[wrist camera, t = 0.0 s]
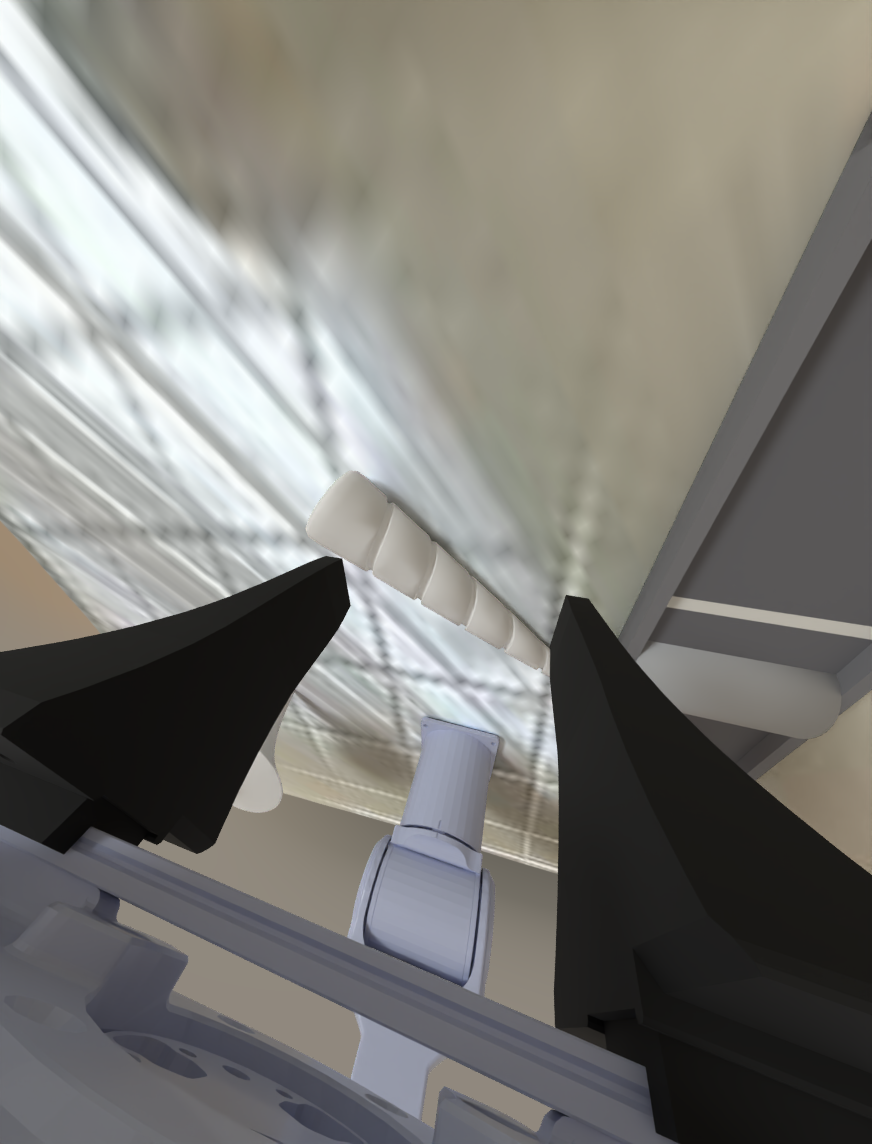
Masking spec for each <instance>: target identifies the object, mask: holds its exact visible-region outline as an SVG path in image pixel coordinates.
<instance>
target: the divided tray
mask: <svg viewBox="0 0 872 1144" xmlns="http://www.w3.org/2000/svg"><path fill="white" fill-rule="evenodd" d="M618 640H619V641H620V643H621V644H622V645H623V646H624V648H625V649H626V650H627V651H628V653H629V654H630V655H631V657H632V658H633V659H634V660H635V661H636V663H637V664H638V665H639V666H640V667H641V669H642V670H643V671H644V672H645V673H646V674H647V675H648V677H649V678H650V679H651V680H652V681H653V682H654V683H655V685H656V686H657V687H658V688H659V689H660V690H661V691H662V692H663V693H664V695H665V696H666V697H667V698H668V699H669V700H670V701H671V702H672V703H673V704H674V705H675V706H676V707H677V708H678V709H679V710H680V711H681V712H682V713H683V714H684V715H685V716H686V717H687V718H688V719H689V720H690V721H691V722H692V723H693V724H694V725H695V726H696V727H697V728H698V729H699V730H700V731H701V732H702V733H703V734H704V735H705V736H706V737H707V738H708V739H709V740H710V741H711V742H713V743H714V744H715V745H716V746H717V747H718V748H719V749H720V750H721V751H722V752H723V753H725V754H726V755H727V756H728V757H729V758H730V759H731V760H732V761H733V762H735V763H736V764H737V765H738V766H739V767H740V768H741V769H742V770H744V771H745V772H746V773H747V774H748V775H749V776H750V777H751V778H753V779H754V780H756V779H758V778H759V777H760V776H762V775H763V774H764V773H765V772H767V771H768V770H769V769H771V768H772V767H773V766H774V765H776V764H777V763H778V762H780V761H781V760H782V759H783V758H785V757H786V756H787V755H789V754H790V753H791V752H792V751H794V750H795V749H796V748H798V747H799V746H800V745H801V744H803V743H804V742H805V741H807V740H808V739H811V738H816V737H818V736H821V735H822V734H824V733H826V732H827V731H828V730H829V729H830V728H831V727H832V726H833V724H834V723H835V721H836V719H837V718H838V716H839V715H840V714H841V713H843V712H844V711H845V710H846V709H848V708H849V707H850V706H852V705H853V704H854V703H855V702H857V701H858V700H859V699H861V698H862V697H863V696H864V695H866V694H867V693H868V692H870V691H871V690H872V112H871V114H870V116H869V118H868V120H867V122H866V124H865V126H864V129H863V131H862V133H861V135H860V137H859V139H858V141H857V143H856V145H855V147H854V149H853V151H852V154H851V156H850V158H849V160H848V162H847V164H846V166H845V168H844V170H843V172H842V174H841V176H840V178H839V181H838V183H837V185H836V187H835V189H834V191H833V193H832V195H831V197H830V199H829V201H828V203H827V206H826V208H825V210H824V212H823V214H822V216H821V218H820V220H819V222H818V224H817V226H816V228H815V230H814V233H813V235H812V237H811V239H810V241H809V243H808V245H807V247H806V249H805V251H804V253H803V255H802V257H801V260H800V262H799V264H798V266H797V268H796V270H795V272H794V274H793V276H792V278H791V280H790V282H789V285H788V287H787V289H786V291H785V293H784V295H783V297H782V299H781V301H780V303H779V305H778V307H777V309H776V312H775V314H774V316H773V318H772V320H771V322H770V324H769V326H768V328H767V330H766V332H765V334H764V337H763V339H762V341H761V343H760V345H759V347H758V349H757V351H756V353H755V355H754V357H753V359H752V361H751V364H750V366H749V368H748V370H747V372H746V374H745V376H744V378H743V380H742V382H741V384H740V386H739V389H738V391H737V393H736V395H735V397H734V399H733V401H732V403H731V405H730V407H729V409H728V411H727V413H726V416H725V418H724V420H723V422H722V424H721V426H720V428H719V430H718V432H717V434H716V436H715V438H714V441H713V443H712V445H711V447H710V449H709V451H708V453H707V455H706V457H705V459H704V461H703V463H702V465H701V468H700V470H699V472H698V474H697V476H696V478H695V480H694V482H693V484H692V486H691V488H690V490H689V492H688V495H687V497H686V499H685V501H684V503H683V505H682V507H681V509H680V511H679V513H678V515H677V517H676V520H675V522H674V524H673V526H672V528H671V530H670V532H669V534H668V536H667V538H666V540H665V542H664V544H663V547H662V549H661V551H660V553H659V555H658V557H657V559H656V561H655V563H654V565H653V567H652V569H651V572H650V574H649V576H648V578H647V580H646V582H645V584H644V586H643V588H642V590H641V592H640V594H639V596H638V599H637V601H636V603H635V605H634V607H633V609H632V611H631V613H630V615H629V617H628V619H627V621H626V624H625V626H624V628H623V630H622V632H621V634H620V636H619V638H618Z"/></svg>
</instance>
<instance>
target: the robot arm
mask: <svg viewBox="0 0 872 1144" xmlns="http://www.w3.org/2000/svg"><path fill="white" fill-rule="evenodd" d="M350 606H351V605H350V600H349V594H348V589H347V583H346V577H345V572H344V566H343V561H342V559H341V558H335V557H329V556H325V557H322V558H319V559H316V560H314V561H312V562H309V563H307V564H304V565H302V566H300V567H298V568H295V569H293V570H291V571H289V572H286V573H284V574H282V575H280V576H277V577H275V578H273V579H271V580H268V581H266V582H264V583H261V584H259V585H257V586H254V587H252V588H249V589H247V590H244V591H242V592H239V593H237V594H235V595H232V596H230V597H227V598H224V599H222V600H219V601H216V602H213V603H211V604H208V605H205V606H202V607H199V608H196V609H193V610H190V611H186V612H183V613H180V614H177V615H173V616H169V617H166V618H162V619H158V620H155V621H151V622H148V623H144V624H140V625H137V626H133V627H129V628H124V629H120V630H116V631H111V632H107V633H102V634H98V635H93V636H88V637H84V638H79V639H74V640H69V641H63V642H57V643H52V644H46V645H40V646H34V647H28V648H23V649H17V650H11V651H4V652H0V1144H872V875H871V874H870V873H869V872H867V871H866V870H865V869H863V868H862V867H861V866H859V865H858V864H857V863H855V862H854V861H853V860H851V859H850V858H849V857H848V856H846V855H845V854H844V853H842V852H841V851H840V850H839V849H837V848H836V847H835V846H834V845H832V844H831V843H830V842H829V841H827V840H826V839H825V838H824V837H822V836H821V835H820V834H819V833H818V832H816V831H815V830H814V829H813V828H811V827H810V826H809V825H808V824H806V823H805V822H804V821H803V820H801V819H800V818H799V817H798V816H797V815H795V814H794V813H793V812H792V811H790V810H789V809H788V808H787V807H785V806H784V805H783V804H782V803H781V802H780V801H778V800H777V799H776V798H775V797H774V796H772V795H771V794H770V793H769V792H768V791H767V790H765V789H764V788H763V787H762V786H761V785H759V784H758V783H757V782H756V781H755V780H754V779H753V778H751V777H750V776H749V775H748V774H747V773H746V772H745V771H744V770H742V769H741V768H740V767H739V766H738V765H737V764H736V763H735V762H733V761H732V760H731V759H730V758H729V757H728V756H727V755H726V754H725V753H723V752H722V751H721V750H720V749H719V748H718V747H717V746H716V745H715V744H714V743H713V742H711V741H710V740H709V739H708V738H707V737H706V736H705V735H704V734H703V733H702V732H701V731H700V730H699V729H698V728H697V727H696V726H695V725H694V724H693V723H692V722H691V721H690V720H689V719H688V718H687V717H686V716H685V715H684V714H683V713H682V712H681V711H680V710H679V709H678V708H677V707H676V706H675V705H674V704H673V703H672V702H671V701H670V700H669V699H668V698H667V697H666V696H665V695H664V693H663V692H662V691H661V690H660V689H659V688H658V687H657V686H656V685H655V683H654V682H653V681H652V680H651V679H650V678H649V677H648V675H647V674H646V673H645V672H644V671H643V670H642V669H641V667H640V666H639V665H638V664H637V663H636V661H635V660H634V659H633V658H632V657H631V655H630V654H629V653H628V651H627V650H626V649H625V648H624V646H623V645H622V644H621V643H620V641H619V640H618V639H617V637H616V636H615V635H614V633H613V632H612V631H611V629H610V628H609V626H608V625H607V624H606V622H605V621H604V620H603V618H602V617H601V615H600V614H599V613H598V611H597V610H596V609H595V607H594V606H593V604H592V603H591V602H590V600H589V599H587V598H581V597H575V596H569V595H566V597H565V600H564V603H563V606H562V609H561V612H560V616H559V619H558V622H557V625H556V628H555V632H554V635H553V638H552V641H551V644H550V684H551V694H552V704H553V713H554V723H555V732H556V742H557V752H558V770H559V851H558V900H557V901H558V902H557V929H556V930H557V931H556V958H555V981H554V1008H555V1027H556V1028H554V1027H552V1026H550V1025H547V1024H545V1023H543V1022H541V1021H538V1020H536V1019H534V1018H531V1017H529V1016H527V1015H525V1014H522V1013H520V1012H518V1011H515V1010H513V1009H511V1008H508V1007H506V1006H504V1005H501V1004H499V1003H497V1002H494V1001H492V1000H490V999H488V998H485V997H484V993H485V984H486V980H487V976H488V970H489V963H490V955H491V946H492V936H493V924H494V909H495V883H494V881H493V879H492V877H491V876H490V871H489V870H488V869H485V868H482V870H481V867H482V858H483V855H482V854H481V844H482V836H483V827H484V818H485V809H486V800H487V791H488V783H489V782H490V778H491V774H492V770H493V766H494V762H495V758H496V754H497V749H498V745H499V740H500V739H499V737H498V736H496V735H493V734H489V733H485V732H481V731H478V730H474V729H470V728H466V727H462V726H458V725H455V724H451V723H447V722H443V721H439V720H435V719H432V718H428V717H423V718H422V721H421V734H422V752H421V755H420V758H419V762H418V765H417V769H416V772H415V775H414V779H413V782H412V786H411V789H410V792H409V796H408V799H407V803H406V806H405V810H404V813H403V816H402V820H401V823H400V826H399V825H395V828H394V832H393V835H392V836H391V835H385V836H384V837H383V838H382V839H381V840H379V841H378V842H377V843H376V845H375V847H374V849H373V851H372V853H371V855H370V857H369V860H368V862H367V865H366V868H365V871H364V873H363V877H362V880H361V883H360V886H359V890H358V894H357V898H356V902H355V906H354V910H353V916H352V922H351V926H350V929H349V932H348V936H347V937H345V936H342V935H340V934H338V933H336V932H333V931H331V930H328V929H326V928H324V927H322V926H319V925H317V924H315V923H312V922H310V921H308V920H305V919H303V918H301V917H299V916H296V915H294V914H291V913H289V912H287V911H285V910H283V909H280V908H278V907H276V906H273V905H271V904H269V903H266V902H264V901H262V900H259V899H257V898H255V897H253V896H250V895H248V894H246V893H243V892H241V891H239V890H236V889H234V888H232V887H230V886H227V885H225V884H223V883H220V882H218V881H216V880H213V879H211V878H209V877H207V876H204V875H202V874H200V873H197V872H195V871H192V870H190V869H188V868H186V867H183V866H181V865H179V864H176V863H174V862H172V861H170V860H167V859H165V858H162V857H160V856H158V855H156V854H154V853H151V852H149V851H146V850H144V849H142V848H139V847H137V846H138V845H139V844H140V842H141V841H142V840H143V839H144V840H147V841H149V842H151V843H154V844H156V845H157V844H159V843H161V842H162V840H165V841H167V842H170V843H172V844H175V845H177V846H179V847H182V848H184V849H186V850H189V851H191V852H194V853H196V854H198V853H201V852H203V851H205V850H207V849H208V848H210V847H211V846H213V845H214V844H215V843H216V840H217V838H218V836H219V833H220V831H221V829H222V827H223V824H224V822H225V820H226V818H227V816H228V814H229V811H230V809H231V807H232V805H233V803H234V801H235V799H236V796H237V794H238V792H239V790H240V788H241V786H242V784H243V782H244V780H245V778H246V776H247V774H248V772H249V770H250V768H251V766H252V764H253V762H254V760H255V758H256V756H257V754H258V752H259V751H260V749H261V747H262V745H263V743H264V742H265V740H266V738H267V736H268V734H269V732H270V731H271V729H272V727H273V725H274V723H275V722H276V720H277V718H278V716H279V715H280V713H281V711H282V710H283V708H284V706H285V705H286V703H287V701H288V699H289V698H290V696H291V694H292V693H293V691H294V690H295V688H296V687H297V686H298V684H299V683H300V681H301V680H302V678H303V677H304V676H305V674H306V673H307V672H308V670H309V669H310V668H311V666H312V665H313V663H314V662H315V661H316V659H317V658H318V657H319V655H320V654H321V652H322V651H323V650H324V648H325V647H326V646H327V644H328V643H329V641H330V640H331V639H332V637H333V636H334V634H335V633H336V631H337V630H338V628H339V627H340V625H341V623H342V621H343V619H344V617H345V615H346V613H347V611H348V609H349V607H350ZM119 898H120V899H122V900H124V901H126V902H128V903H130V904H132V905H134V906H136V907H138V908H140V909H142V910H144V911H146V912H149V913H151V914H153V915H155V916H157V917H159V918H161V919H163V920H165V921H167V922H169V923H171V924H174V925H175V926H177V927H179V928H182V929H184V930H186V931H188V932H190V933H192V934H194V935H196V936H198V937H200V938H202V939H204V940H206V941H208V942H210V943H212V944H215V945H217V946H219V947H221V948H223V949H225V950H227V951H229V952H231V953H233V954H235V955H237V956H239V957H242V958H243V959H245V960H247V961H250V962H252V963H254V964H256V965H258V966H260V967H262V968H264V969H266V970H269V971H270V972H272V973H275V974H277V975H279V976H280V977H283V978H285V979H287V980H289V981H291V982H293V983H295V984H297V985H299V986H301V987H303V988H305V989H308V990H309V991H312V992H313V993H316V994H318V995H320V996H322V997H324V998H326V999H328V1000H330V1001H332V1002H334V1003H336V1004H338V1005H340V1006H342V1007H345V1008H346V1009H349V1010H351V1011H353V1012H354V1014H355V1017H356V1020H357V1023H358V1026H359V1030H360V1034H361V1040H360V1044H359V1047H358V1051H357V1055H356V1059H355V1063H354V1067H353V1071H352V1075H351V1079H349V1078H348V1077H346V1076H344V1075H342V1074H340V1073H339V1072H336V1071H335V1070H333V1069H331V1068H330V1067H328V1066H326V1065H324V1064H322V1063H320V1062H318V1061H317V1060H315V1059H313V1058H311V1057H309V1056H307V1055H305V1054H303V1053H301V1052H299V1051H297V1050H295V1049H294V1048H292V1047H290V1046H288V1045H286V1044H284V1043H282V1042H280V1041H278V1040H276V1039H273V1038H271V1037H269V1036H267V1035H265V1034H263V1033H261V1032H259V1031H257V1030H255V1029H253V1028H251V1027H249V1026H247V1025H245V1024H242V1023H240V1022H238V1021H236V1020H234V1019H232V1018H230V1017H228V1016H225V1015H224V1014H221V1013H219V1012H217V1011H215V1010H213V1009H211V1008H209V1007H207V1006H205V1005H202V1004H200V1003H198V1002H196V1001H194V1000H192V999H190V998H188V997H186V996H184V995H182V994H179V993H177V992H175V991H173V990H172V989H173V988H174V986H175V984H176V982H177V981H178V979H179V977H180V976H181V974H182V972H183V970H184V969H185V967H186V965H187V963H188V956H187V955H186V954H184V953H182V952H181V951H179V950H178V949H176V948H175V947H173V946H171V945H169V944H168V943H166V942H164V941H162V940H160V939H157V938H155V937H153V936H151V935H148V934H146V933H143V932H141V931H139V930H136V929H134V928H131V927H129V926H126V925H124V924H121V923H119V922H117V919H116V916H117V912H118V910H119V906H120V900H119ZM372 948H374V949H372ZM375 949H376V950H375ZM377 950H378V951H377ZM379 951H380V952H379ZM382 952H383V953H382ZM384 953H385V954H384ZM386 954H387V955H386ZM389 955H390V956H389ZM391 956H392V957H391ZM393 957H394V958H393ZM395 958H397V959H395ZM398 959H399V960H398ZM400 960H401V961H400ZM402 961H404V962H402ZM405 962H406V963H405ZM407 963H408V964H407ZM409 964H410V965H409ZM412 965H413V966H412ZM414 966H415V967H414ZM416 967H417V968H416ZM419 968H420V969H419ZM421 969H422V970H421ZM423 970H424V971H423ZM425 971H427V972H425ZM428 972H429V973H428ZM430 973H431V974H430ZM432 974H433V975H432ZM435 975H436V976H435ZM437 976H438V977H437ZM439 977H440V978H439ZM442 978H443V979H442ZM444 979H445V980H444ZM446 980H448V981H450V982H448V981H446ZM451 982H452V983H451ZM453 983H454V984H453ZM455 984H457V985H455ZM458 985H459V986H458ZM460 986H461V987H460ZM447 1058H449V1059H452V1060H454V1061H456V1062H458V1063H460V1064H462V1065H464V1066H466V1067H468V1068H470V1069H472V1070H474V1071H476V1072H478V1073H480V1074H482V1075H485V1076H487V1077H489V1078H491V1079H493V1080H495V1081H497V1082H499V1083H501V1084H503V1085H505V1086H507V1087H510V1088H511V1089H514V1090H515V1091H518V1092H520V1093H522V1094H524V1095H526V1096H528V1097H530V1098H532V1099H534V1100H536V1101H538V1102H540V1103H542V1104H544V1105H546V1106H548V1107H551V1108H553V1109H555V1110H550V1111H549V1112H548V1113H547V1114H546V1115H545V1116H544V1118H543V1120H542V1124H541V1127H540V1129H539V1131H537V1132H534V1131H533V1130H531V1129H530V1128H528V1127H527V1126H525V1125H523V1124H522V1123H520V1122H519V1121H517V1120H515V1119H513V1118H512V1117H510V1116H508V1115H506V1114H504V1113H502V1112H500V1111H498V1110H496V1109H494V1108H492V1107H490V1106H488V1105H485V1104H483V1103H481V1102H479V1101H477V1100H474V1099H472V1098H470V1097H468V1096H465V1095H463V1094H461V1093H459V1092H456V1091H454V1090H452V1089H450V1088H447V1087H443V1089H442V1090H441V1091H440V1092H439V1099H438V1107H437V1114H436V1121H435V1129H433V1128H432V1127H430V1126H429V1125H427V1124H425V1123H424V1122H422V1121H421V1120H422V1112H423V1106H424V1099H425V1093H426V1087H427V1080H428V1075H429V1073H430V1072H431V1071H432V1070H433V1069H434V1068H435V1067H436V1066H437V1065H439V1064H440V1063H441V1062H443V1061H444V1060H445V1059H447Z"/></svg>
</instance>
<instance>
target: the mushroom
mask: <svg viewBox="0 0 872 1144" xmlns="http://www.w3.org/2000/svg"><path fill="white" fill-rule="evenodd" d="M294 692H295V691H293V693H292V694H291V696H290V698H289V699H288V701H287V703H286V705H285V706H284V708H283V710H282V711H281V713H280V715H279V716H278V718H277V720H276V722H275V723H274V725H273V727H272V729H271V731H270V732H269V734H268V736H267V738H266V740H265V742H264V743H263V745H262V747H261V749H260V751H259V752H258V754H257V756H256V758H255V760H254V762H253V764H252V766H251V768H250V770H249V772H248V774H247V776H246V778H245V780H244V782H243V784H242V786H241V788H240V790H239V792H238V794H237V796H236V799H235V801H234V803H233V805H232V806H235V807H237V808H239V809H242V810H245V811H249V812H257V813H259V812H260V813H261V812H267V811H270V810H273V809H274V808H275V807H277V806H278V805H279V803H280V802H281V799H282V794H283V789H282V783H281V780H280V777H279V775H278V772H277V769H276V765H275V759H274V752H275V743H276V738H277V734H278V731H279V728H280V725H281V722H282V719H283V717H284V714H285V712H286V710H287V707H288V705H289V703H290V701H291V699H292V697H293V694H294Z"/></svg>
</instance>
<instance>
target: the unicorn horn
mask: <svg viewBox="0 0 872 1144" xmlns="http://www.w3.org/2000/svg"><path fill="white" fill-rule="evenodd" d="M306 532H307V534H308V536H309V538H311V539H312V540H313V541H315V542H316V543H318V544H319V545H321V546H323V547H325V548H326V549H328V550H330V551H332V552H333V553H335V554H337V555H339V556H340V557H342V558H344V559H346V560H347V561H349V562H351V563H352V564H354V565H356V566H358V567H359V568H361V569H363V570H365V571H368V570H372V571H373V572H372V573H373V575H374V576H375V577H376V578H378V579H380V580H381V581H383V582H385V583H386V584H388V585H390V586H391V587H393V588H395V589H396V590H398V591H400V592H401V593H403V594H405V595H406V596H408V597H410V598H412V599H413V600H415V599H417V598H419V599H420V600H422V601H421V604H422V605H423V606H425V607H427V608H428V609H430V610H432V611H434V612H435V613H437V614H439V615H441V616H442V617H444V618H446V619H447V620H449V621H451V622H453V623H454V624H456V625H458V626H459V625H460V624H463V625H465V626H466V628H465V630H466V631H468V632H470V633H471V634H473V635H475V636H477V637H478V638H480V639H482V640H484V641H485V642H487V643H489V644H491V645H492V646H494V647H496V648H498V649H500V648H501V647H503V648H505V651H504V652H505V653H507V654H508V655H510V656H512V657H514V658H516V659H517V660H519V661H521V662H523V663H525V664H527V665H528V666H530V667H532V668H534V669H536V670H537V669H538V668H541V669H542V673H543V674H545V675H547V676H549V677H550V649H549V648H548V647H547V646H546V645H545V644H544V643H543V642H542V641H541V640H539V639H538V638H537V637H536V636H535V635H534V634H533V633H532V632H531V631H530V630H529V629H528V628H527V627H526V626H525V625H524V624H523V623H522V622H521V621H520V620H519V619H518V618H517V617H516V616H515V615H514V614H513V613H512V612H511V611H510V610H509V609H507V608H505V607H504V605H503V604H502V603H501V602H500V601H499V600H498V599H497V598H496V597H495V596H494V595H493V594H492V593H490V592H489V591H488V590H487V589H486V588H485V587H484V586H483V585H482V584H481V583H480V582H479V581H478V580H477V579H475V578H474V577H473V576H470V575H469V573H468V571H467V570H466V569H465V568H464V567H463V566H461V565H460V564H459V563H458V562H457V561H456V560H455V559H454V558H453V557H452V556H451V555H449V554H448V553H447V552H446V551H445V550H444V549H443V548H442V547H441V546H440V545H439V544H438V543H436V542H434V541H431V539H430V537H429V535H428V534H427V533H426V532H425V531H423V530H422V529H421V528H420V527H419V526H418V525H417V524H416V523H415V522H414V521H413V520H412V519H411V518H409V517H408V516H407V515H406V514H405V513H404V512H403V511H402V510H401V509H400V508H399V507H398V506H397V505H396V504H395V503H388V502H387V496H386V495H385V494H384V493H383V492H381V491H380V490H379V489H378V488H377V487H376V486H375V485H374V484H373V483H372V482H371V481H370V480H369V479H367V478H366V477H365V476H364V475H362V474H361V473H360V472H358V471H348V472H346V473H345V474H344V475H342V476H341V477H340V478H338V479H337V480H336V481H335V482H334V483H333V484H332V485H331V486H330V487H329V489H328V490H327V491H326V492H325V494H324V495H323V496H322V498H321V499H320V500H319V502H318V503H317V505H316V506H315V508H314V509H313V511H312V513H311V515H310V517H309V520H308V522H307V526H306Z"/></svg>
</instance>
